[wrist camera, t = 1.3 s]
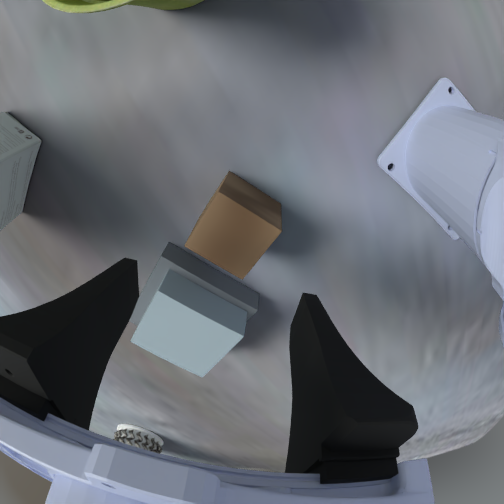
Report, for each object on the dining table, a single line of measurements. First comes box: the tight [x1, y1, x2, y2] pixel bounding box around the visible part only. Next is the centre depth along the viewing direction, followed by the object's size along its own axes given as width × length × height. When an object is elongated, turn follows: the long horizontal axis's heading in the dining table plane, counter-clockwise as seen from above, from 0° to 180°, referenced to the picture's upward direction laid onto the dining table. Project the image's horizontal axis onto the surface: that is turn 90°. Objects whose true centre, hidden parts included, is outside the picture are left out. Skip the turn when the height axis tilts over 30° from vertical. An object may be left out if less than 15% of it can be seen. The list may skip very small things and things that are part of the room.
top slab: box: [130, 269, 247, 377], centre depth 22 cm, size 6×6×2 cm
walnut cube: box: [185, 171, 282, 280], centre depth 19 cm, size 4×4×4 cm
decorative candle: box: [113, 424, 164, 453], centre depth 32 cm, size 9×9×25 cm
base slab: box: [129, 242, 259, 326], centre depth 24 cm, size 8×8×2 cm
